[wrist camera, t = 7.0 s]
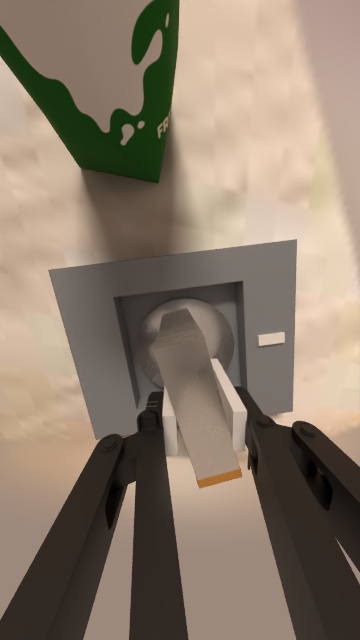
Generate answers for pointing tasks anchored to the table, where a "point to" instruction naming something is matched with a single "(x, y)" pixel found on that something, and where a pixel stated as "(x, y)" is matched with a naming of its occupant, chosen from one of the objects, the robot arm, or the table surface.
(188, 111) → the table surface
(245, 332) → the panel
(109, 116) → the milk carton
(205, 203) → the table surface
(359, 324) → the table surface
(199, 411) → the dial
